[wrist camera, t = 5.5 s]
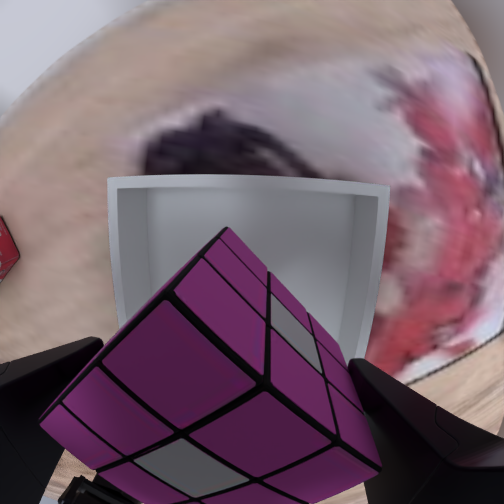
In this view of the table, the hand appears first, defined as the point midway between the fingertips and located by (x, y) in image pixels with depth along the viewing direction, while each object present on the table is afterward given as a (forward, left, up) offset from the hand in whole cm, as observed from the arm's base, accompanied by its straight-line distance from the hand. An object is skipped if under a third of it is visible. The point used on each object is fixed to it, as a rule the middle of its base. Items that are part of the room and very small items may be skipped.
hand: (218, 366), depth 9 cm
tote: (-4, 0, -11) cm, 12 cm away
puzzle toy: (0, 0, -2) cm, 2 cm away
